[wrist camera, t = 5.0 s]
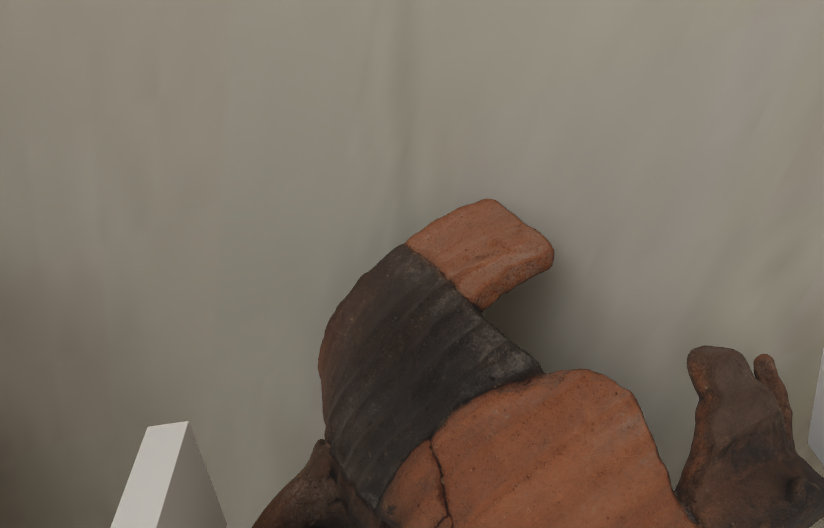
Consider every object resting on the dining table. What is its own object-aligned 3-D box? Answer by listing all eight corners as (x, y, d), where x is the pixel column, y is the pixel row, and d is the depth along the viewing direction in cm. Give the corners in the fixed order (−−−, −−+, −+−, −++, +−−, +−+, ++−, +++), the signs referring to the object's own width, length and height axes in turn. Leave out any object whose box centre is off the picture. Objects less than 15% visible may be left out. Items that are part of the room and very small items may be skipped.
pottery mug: (599, 84, 15) (971, 396, 11) (590, 306, 23) (803, 538, 19) (60, 416, 13) (245, 951, 9) (251, 534, 21) (399, 849, 17)
